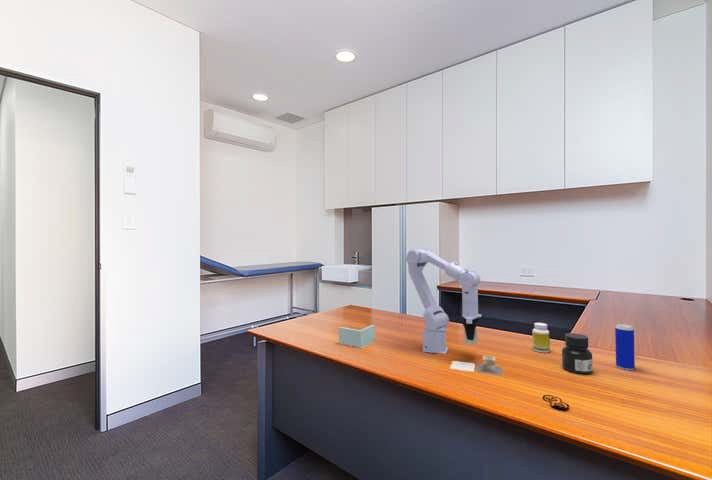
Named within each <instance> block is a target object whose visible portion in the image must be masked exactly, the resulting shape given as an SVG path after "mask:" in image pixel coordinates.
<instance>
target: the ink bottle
mask: <svg viewBox="0 0 712 480" xmlns="http://www.w3.org/2000/svg"><path fill="white" fill-rule="evenodd" d="M564 338H565V339H564V341H565V342H564V344H565V346H564V347H563V348H562V350H561V366H562V369H564V370H566V371H568V372H571V373H574V374H579V375H589V374H592V373H593V353H592V352H591V351H590V350H589V337H588V336H587V335H584V334H582V333H573V332H571V333H570V332H569V333H565V334H564Z"/></svg>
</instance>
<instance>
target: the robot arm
mask: <svg viewBox="0 0 712 480" xmlns="http://www.w3.org/2000/svg"><path fill="white" fill-rule="evenodd" d="M405 261H406V262H407V265H408V274H409V277H410V278H411V281H412V283H413V286H414V288H415V290H416V292H417V294H418V297H419V299H420V301H421V304H422V306H423V308H424V312H423V317H424V324H425V327H426V328H423V330H422V352H423V353H430V354H431V353H433V354H447V352H448V350H449V347H447V326H448V325H449V323H450V318H449V316H448V314H447V313H446V312H445V311H444V309H443V308H442V307H441V306H440V305H438V304H437V302H436V300H435V297H434V295H433V293H432V291H431V289H430V286H429V284H428V282H427V280H426V278H425V275H424V273H423V270H424V269H425V267H426V265H427V264H428V263H430V264H432V265H434V266H436V267H438V268H440V269H442V270H443V271H444V273H445V275H446V276H448V277H450V278H452V279H453V280H455V281H457V282H459V285H460V286H461V295H462V296H461V299H462V301H461V302H462V313H461V316H462V317H463V320H461V323H462V326H463V328H464V331H466V336H467V340H473V339H474V333H475V329H476V328H477V326H478V323H479V318H482V314H481V313H479V297H478V296H479V293H478V288H479V287H478V285H479V284H480V282H481V277H480V275H479V274H478V273H477V272H476V271H474V270H471V271H470V270H469V268H464V267H462V266H461V265H459V262H455V261H454V262H453V261H452V262H448V261H446V260H444V259H443V258H442V257H439V256H438V255H436V254H435V253H433V252H432V251H431V250H428V249H427V248H426V249H425V248H422V249H421V248H420V249H415V248H413V249H410V250H408V252H407V254H406V257H405Z"/></svg>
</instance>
